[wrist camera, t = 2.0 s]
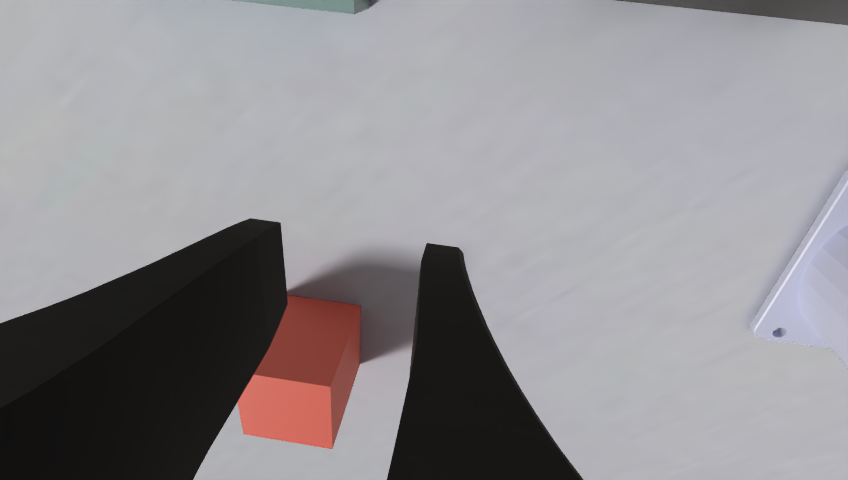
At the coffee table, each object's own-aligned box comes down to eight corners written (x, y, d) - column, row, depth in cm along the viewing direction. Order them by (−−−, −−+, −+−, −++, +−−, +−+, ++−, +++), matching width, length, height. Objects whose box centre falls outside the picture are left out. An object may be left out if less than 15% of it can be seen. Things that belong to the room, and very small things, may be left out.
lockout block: (361, 305, 22) (330, 386, 18) (359, 363, 24) (332, 448, 20) (280, 293, 22) (231, 371, 18) (286, 352, 24) (243, 434, 20)
